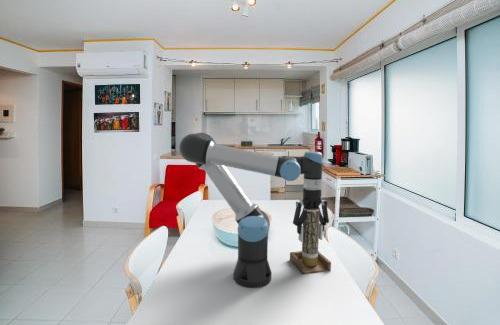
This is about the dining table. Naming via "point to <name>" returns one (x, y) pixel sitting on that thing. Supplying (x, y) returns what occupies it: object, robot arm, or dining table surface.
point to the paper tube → (310, 237)
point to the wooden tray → (296, 259)
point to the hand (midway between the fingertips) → (310, 239)
